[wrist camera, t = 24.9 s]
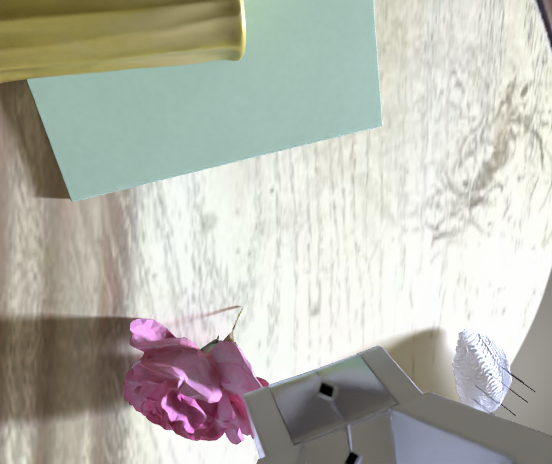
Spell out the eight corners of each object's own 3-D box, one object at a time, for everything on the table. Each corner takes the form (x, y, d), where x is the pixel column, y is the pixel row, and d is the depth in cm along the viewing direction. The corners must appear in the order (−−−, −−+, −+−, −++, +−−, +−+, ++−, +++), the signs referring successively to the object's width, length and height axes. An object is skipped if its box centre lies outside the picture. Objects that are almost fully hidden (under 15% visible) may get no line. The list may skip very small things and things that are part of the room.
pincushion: (432, 346, 45) (477, 383, 40) (481, 309, 46) (532, 340, 41) (461, 422, 51) (504, 462, 46) (504, 387, 52) (551, 423, 47)
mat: (72, 199, 32) (71, 202, 31) (-11, -24, 26) (-13, -25, 26) (379, 124, 36) (382, 126, 35) (364, -82, 30) (368, -83, 30)
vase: (219, -28, 29) (-36, -1, 27) (228, -91, 23) (-99, -65, 21) (238, 73, 30) (-11, 109, 27) (252, 36, 24) (-65, 77, 21)
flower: (169, 389, 43) (95, 469, 34) (165, 285, 40) (82, 343, 31) (292, 419, 40) (246, 518, 31) (298, 308, 37) (249, 381, 28)
